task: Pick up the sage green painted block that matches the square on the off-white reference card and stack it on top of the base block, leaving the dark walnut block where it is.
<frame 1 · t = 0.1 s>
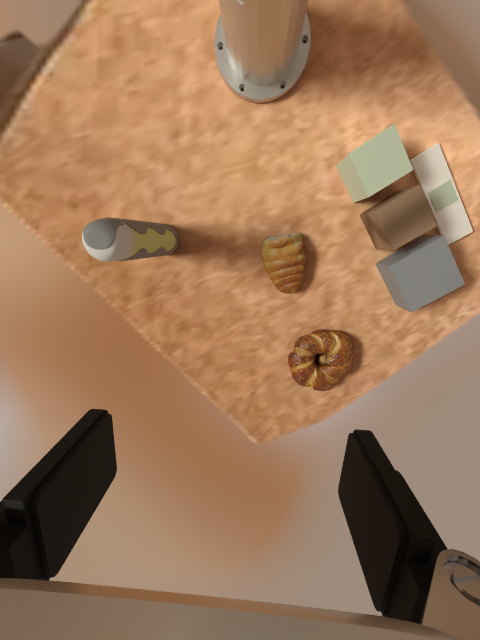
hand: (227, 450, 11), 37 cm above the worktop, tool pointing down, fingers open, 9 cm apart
base block: (408, 271, 44), on the worktop
walnut block: (385, 221, 42), on the worktop
pretzel: (319, 355, 50), on the worktop
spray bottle: (165, 239, 45), on the worktop
sage block: (363, 172, 41), on the worktop
reference card: (440, 197, 41), on the worktop
pastry: (284, 259, 45), on the worktop
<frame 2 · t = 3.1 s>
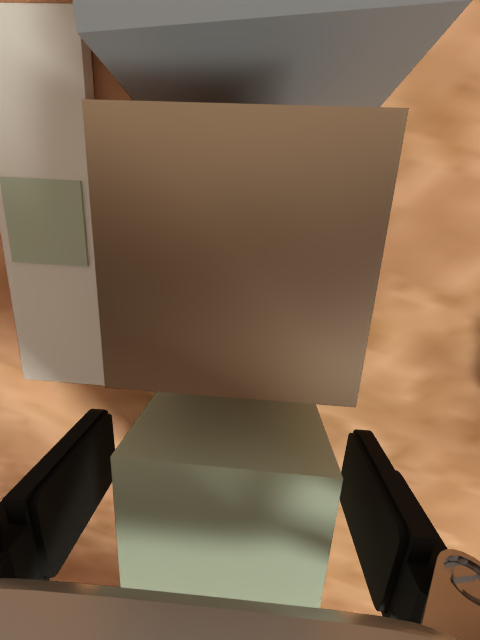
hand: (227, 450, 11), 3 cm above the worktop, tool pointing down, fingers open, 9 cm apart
walnut block: (245, 259, 12), on the worktop
sage block: (236, 424, 14), on the worktop
reference card: (57, 224, 12), on the worktop
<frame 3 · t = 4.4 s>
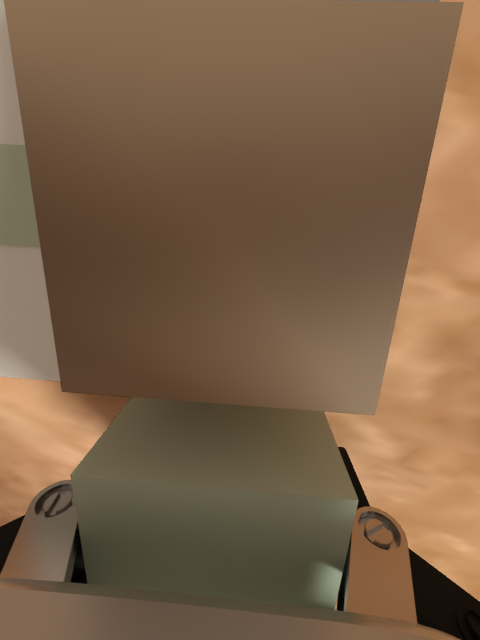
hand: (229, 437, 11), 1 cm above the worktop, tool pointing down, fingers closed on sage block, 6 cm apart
walnut block: (240, 240, 10), on the worktop
sage block: (230, 424, 12), on the worktop, touching gripper
reference card: (23, 200, 10), on the worktop
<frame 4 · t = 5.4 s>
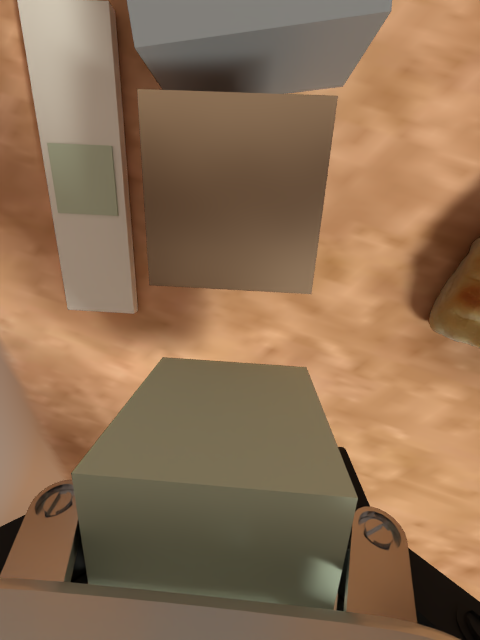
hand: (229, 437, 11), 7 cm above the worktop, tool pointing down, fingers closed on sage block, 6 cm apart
walnut block: (240, 210, 15), on the worktop
sage block: (230, 423, 12), point 6 cm above the worktop, touching gripper
reference card: (91, 182, 15), on the worktop
when the fingers open (7 cm above the worktop, at t = 10.3 s): sage block drops 2 cm, resting on base block.
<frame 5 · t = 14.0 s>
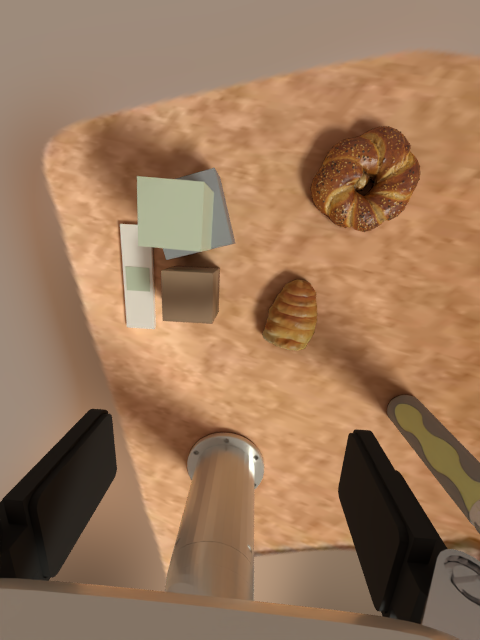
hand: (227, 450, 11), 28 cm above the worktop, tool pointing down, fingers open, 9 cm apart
base block: (198, 219, 36), on the worktop, touching sage block
walnut block: (197, 289, 38), on the worktop
pretzel: (358, 185, 34), on the worktop
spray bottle: (401, 406, 41), on the worktop
sage block: (185, 219, 31), point 5 cm above the worktop, touching base block
reference card: (139, 278, 38), on the worktop
pastry: (289, 315, 39), on the worktop
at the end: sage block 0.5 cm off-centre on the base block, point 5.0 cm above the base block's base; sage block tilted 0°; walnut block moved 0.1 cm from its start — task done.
